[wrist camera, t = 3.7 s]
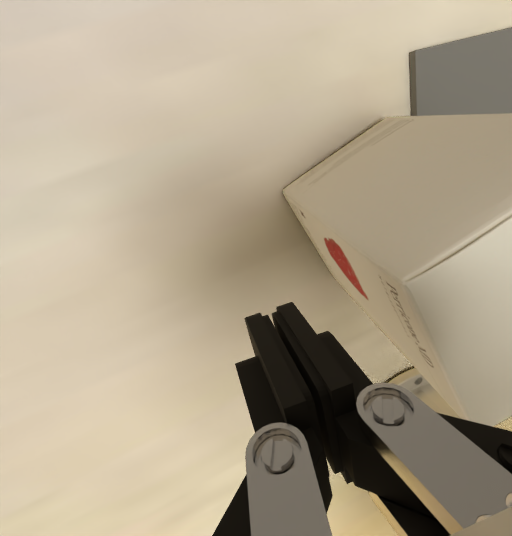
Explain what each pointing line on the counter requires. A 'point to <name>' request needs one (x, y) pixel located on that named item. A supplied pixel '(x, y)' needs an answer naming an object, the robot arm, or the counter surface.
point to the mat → (463, 76)
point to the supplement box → (426, 246)
